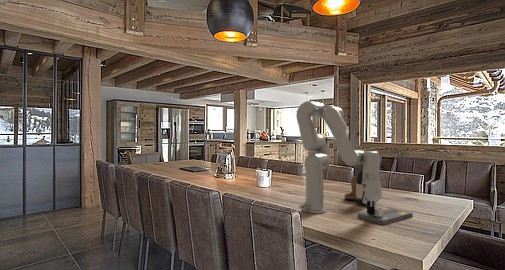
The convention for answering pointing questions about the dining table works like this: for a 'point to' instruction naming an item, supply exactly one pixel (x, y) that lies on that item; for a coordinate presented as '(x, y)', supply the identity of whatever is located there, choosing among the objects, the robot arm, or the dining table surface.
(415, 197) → the dining table surface
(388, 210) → the fader console
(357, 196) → the wine bottle
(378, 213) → the fader knob
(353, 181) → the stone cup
